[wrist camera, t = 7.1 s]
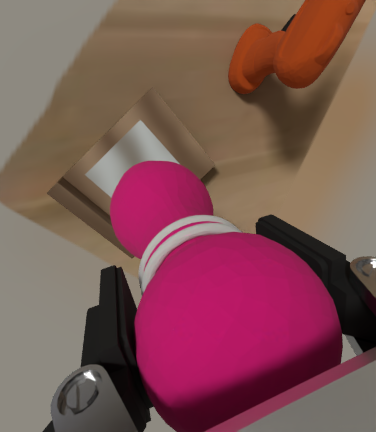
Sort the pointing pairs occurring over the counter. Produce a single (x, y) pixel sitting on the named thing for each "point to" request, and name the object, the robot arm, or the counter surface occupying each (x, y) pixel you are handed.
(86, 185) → the brown picture frame
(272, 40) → the toy drill
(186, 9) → the counter surface
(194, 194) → the pepper mill
